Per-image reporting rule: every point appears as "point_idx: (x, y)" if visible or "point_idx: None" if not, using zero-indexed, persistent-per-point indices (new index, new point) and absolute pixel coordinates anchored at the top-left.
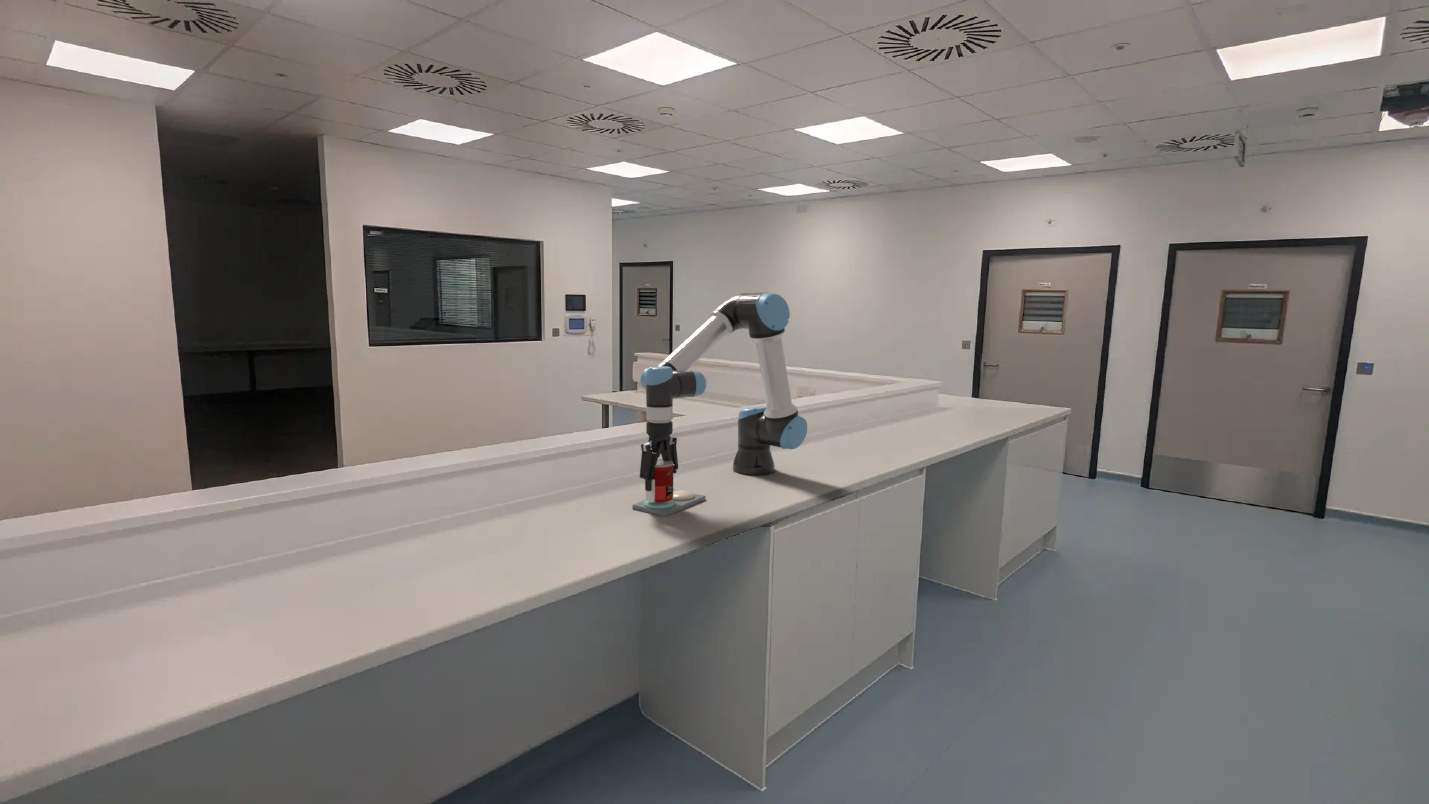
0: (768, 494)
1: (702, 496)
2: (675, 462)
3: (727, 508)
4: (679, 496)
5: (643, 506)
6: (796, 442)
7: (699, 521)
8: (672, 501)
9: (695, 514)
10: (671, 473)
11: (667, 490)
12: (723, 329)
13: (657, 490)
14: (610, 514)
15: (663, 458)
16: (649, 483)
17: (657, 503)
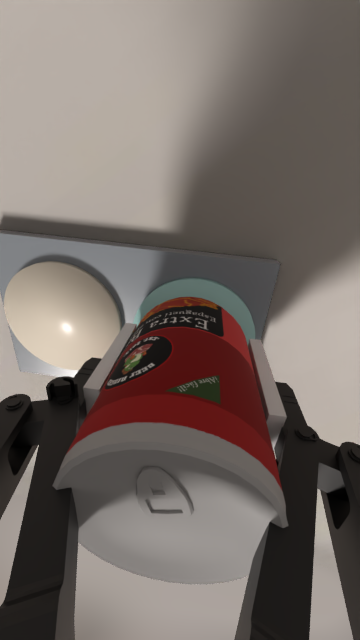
0: None
1: (1, 239)
2: (1, 444)
3: (14, 40)
4: (83, 310)
5: None
6: None
7: (284, 52)
8: (156, 301)
9: (190, 150)
10: (171, 371)
11: (214, 322)
12: None
13: (250, 360)
14: (322, 418)
15: (77, 542)
16: (298, 415)
17: None
